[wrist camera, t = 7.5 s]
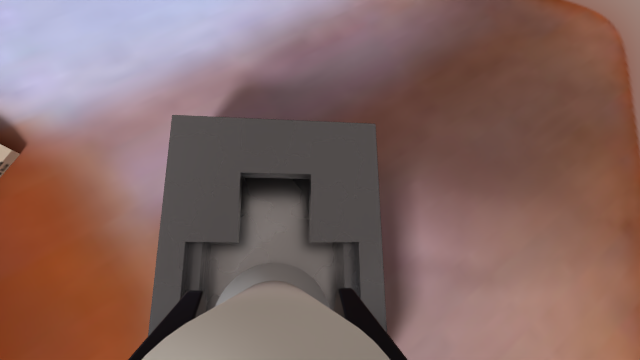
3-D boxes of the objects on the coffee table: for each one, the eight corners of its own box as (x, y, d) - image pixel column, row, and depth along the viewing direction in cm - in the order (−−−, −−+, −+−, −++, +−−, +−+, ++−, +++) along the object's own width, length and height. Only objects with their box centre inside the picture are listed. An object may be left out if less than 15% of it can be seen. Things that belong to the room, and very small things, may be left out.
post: (341, 359, 15) (565, 655, 4) (230, 399, 15) (17, 998, 3) (310, 250, 17) (401, 192, 5) (205, 281, 16) (-28, 313, 4)
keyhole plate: (366, 396, 16) (392, 433, 13) (169, 408, 15) (135, 451, 12) (356, 151, 20) (375, 123, 16) (192, 145, 18) (172, 115, 15)
